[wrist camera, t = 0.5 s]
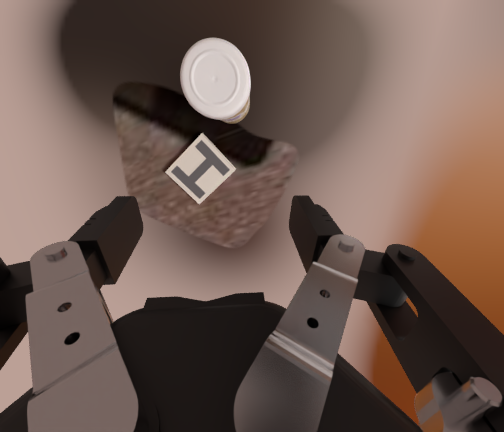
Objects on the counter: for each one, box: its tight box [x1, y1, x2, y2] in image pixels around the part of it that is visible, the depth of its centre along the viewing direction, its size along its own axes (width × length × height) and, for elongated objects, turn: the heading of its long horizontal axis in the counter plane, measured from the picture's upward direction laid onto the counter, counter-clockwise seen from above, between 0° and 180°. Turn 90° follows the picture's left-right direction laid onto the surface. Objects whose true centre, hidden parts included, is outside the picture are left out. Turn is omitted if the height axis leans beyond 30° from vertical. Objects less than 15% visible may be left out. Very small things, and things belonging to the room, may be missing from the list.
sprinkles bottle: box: [180, 38, 251, 123], centre depth 20 cm, size 5×5×13 cm
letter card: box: [165, 133, 236, 204], centre depth 29 cm, size 7×6×1 cm
